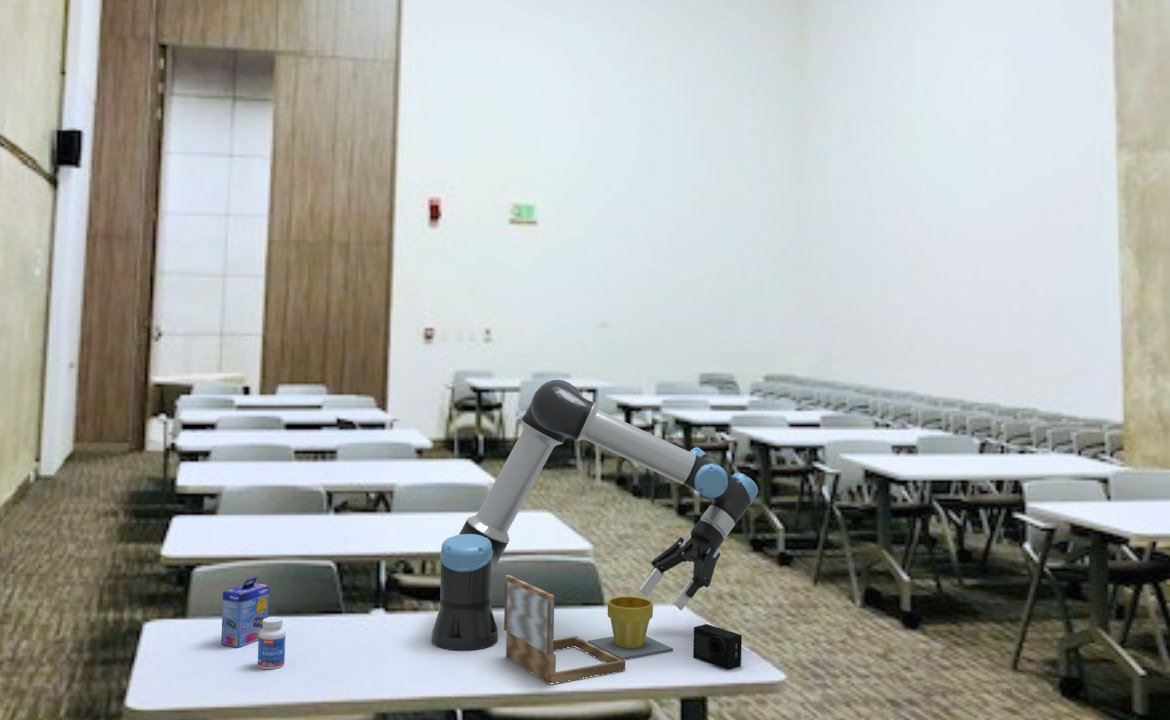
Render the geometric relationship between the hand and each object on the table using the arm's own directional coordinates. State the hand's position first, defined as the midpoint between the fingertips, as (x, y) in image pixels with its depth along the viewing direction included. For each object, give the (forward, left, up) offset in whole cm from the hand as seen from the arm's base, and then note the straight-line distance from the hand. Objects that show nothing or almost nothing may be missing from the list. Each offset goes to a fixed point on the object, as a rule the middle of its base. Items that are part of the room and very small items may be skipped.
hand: (659, 599), depth 226 cm
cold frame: (+3, -27, -10) cm, 29 cm away
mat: (0, -8, -10) cm, 13 cm away
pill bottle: (-25, -82, -10) cm, 86 cm away
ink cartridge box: (-45, -83, -10) cm, 95 cm away
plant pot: (0, -8, -10) cm, 12 cm away
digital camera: (+17, +3, -10) cm, 20 cm away
